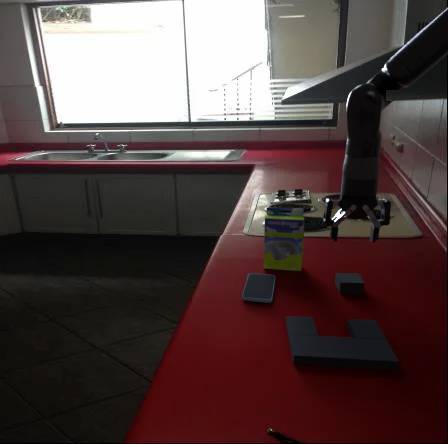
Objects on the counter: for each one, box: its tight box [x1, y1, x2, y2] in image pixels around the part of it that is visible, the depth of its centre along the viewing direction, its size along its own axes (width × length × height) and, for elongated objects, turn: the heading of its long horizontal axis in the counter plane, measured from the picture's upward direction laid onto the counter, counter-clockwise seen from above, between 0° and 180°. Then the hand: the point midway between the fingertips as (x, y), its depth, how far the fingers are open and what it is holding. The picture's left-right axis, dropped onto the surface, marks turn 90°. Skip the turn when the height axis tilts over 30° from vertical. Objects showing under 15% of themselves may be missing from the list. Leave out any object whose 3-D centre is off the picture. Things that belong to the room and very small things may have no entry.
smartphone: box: [241, 272, 276, 304], centre depth 107 cm, size 7×1×15 cm
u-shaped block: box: [285, 315, 400, 372], centre depth 83 cm, size 18×14×2 cm
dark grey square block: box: [334, 272, 366, 295], centre depth 104 cm, size 6×6×3 cm
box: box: [262, 206, 305, 272], centre depth 116 cm, size 10×4×17 cm, turn 73°
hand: (353, 241), depth 100 cm, fingers open, 8 cm apart
